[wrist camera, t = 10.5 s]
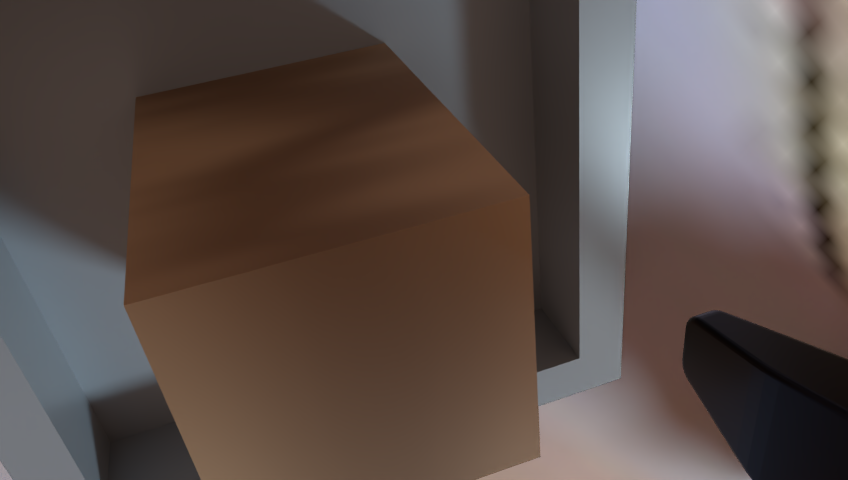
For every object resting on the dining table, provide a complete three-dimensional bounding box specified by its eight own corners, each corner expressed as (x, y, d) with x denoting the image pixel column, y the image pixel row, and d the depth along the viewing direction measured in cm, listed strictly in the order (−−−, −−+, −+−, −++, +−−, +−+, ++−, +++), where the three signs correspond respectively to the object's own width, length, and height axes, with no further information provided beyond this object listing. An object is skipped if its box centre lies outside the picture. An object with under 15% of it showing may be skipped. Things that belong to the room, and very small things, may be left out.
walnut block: (385, 42, 15) (529, 194, 9) (414, 243, 18) (540, 456, 12) (135, 97, 14) (123, 305, 8) (209, 300, 17) (237, 563, 11)
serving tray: (560, -252, 14) (648, -263, 11) (567, 312, 22) (620, 378, 19) (-266, -130, 11) (-384, -111, 9) (80, 465, 19) (70, 564, 16)
